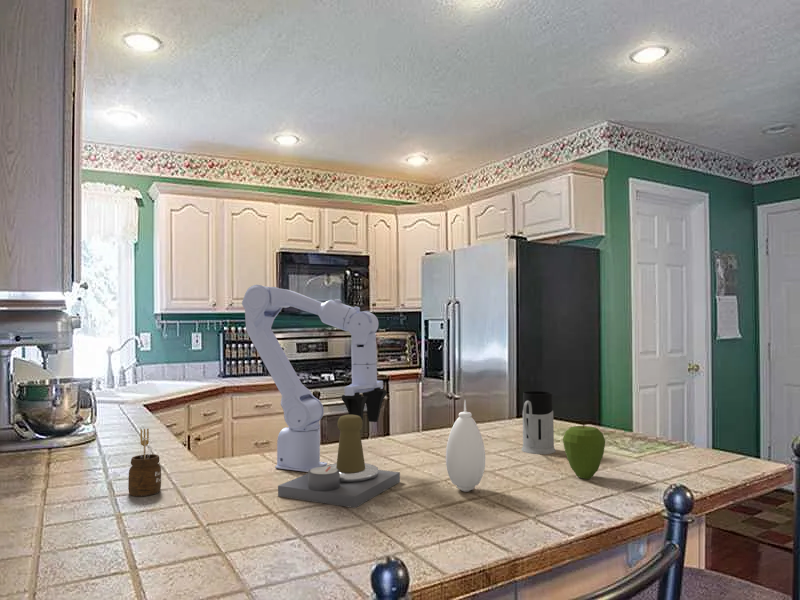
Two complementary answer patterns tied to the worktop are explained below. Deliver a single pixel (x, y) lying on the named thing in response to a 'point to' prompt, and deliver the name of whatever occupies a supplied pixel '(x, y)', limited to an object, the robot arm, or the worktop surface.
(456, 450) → the air blower bulb
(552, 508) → the worktop surface
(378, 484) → the scale base
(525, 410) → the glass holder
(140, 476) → the utensil holder
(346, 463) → the pepper mill
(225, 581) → the worktop surface
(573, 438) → the apple
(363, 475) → the scale pan
